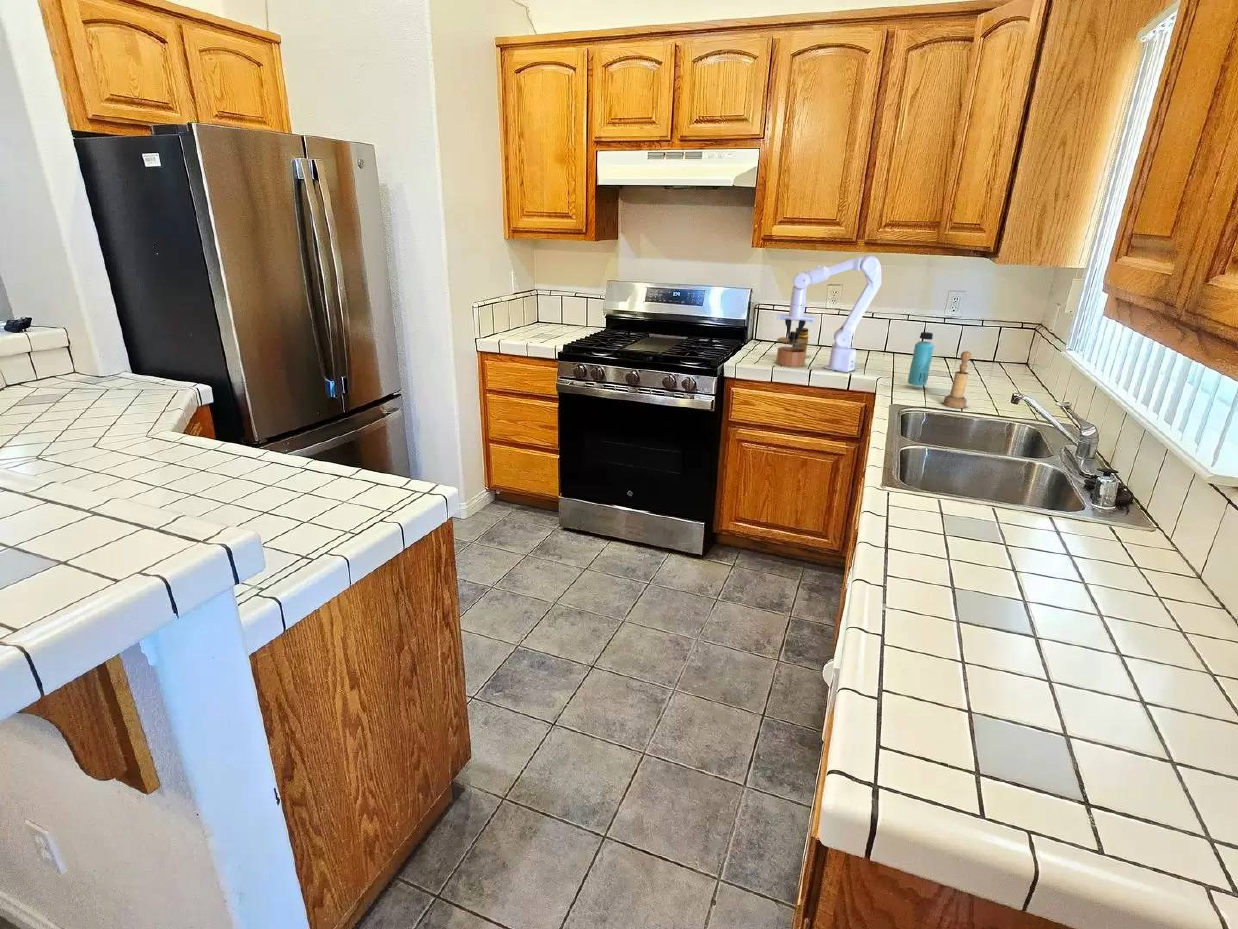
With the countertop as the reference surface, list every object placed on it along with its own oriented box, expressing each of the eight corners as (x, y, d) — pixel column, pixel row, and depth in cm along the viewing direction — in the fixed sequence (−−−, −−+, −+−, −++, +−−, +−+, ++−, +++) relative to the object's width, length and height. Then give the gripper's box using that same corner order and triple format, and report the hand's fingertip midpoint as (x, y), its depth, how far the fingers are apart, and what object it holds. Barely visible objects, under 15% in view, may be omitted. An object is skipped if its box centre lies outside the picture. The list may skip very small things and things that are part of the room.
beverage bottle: (916, 390, 232) (928, 334, 225) (902, 385, 237) (913, 331, 230) (929, 389, 234) (941, 333, 227) (915, 384, 240) (926, 330, 233)
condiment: (809, 356, 281) (813, 328, 276) (798, 359, 275) (803, 330, 271) (794, 353, 286) (798, 326, 281) (784, 355, 280) (787, 328, 276)
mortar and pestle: (944, 406, 213) (956, 352, 207) (942, 401, 219) (954, 348, 212) (966, 409, 211) (979, 354, 204) (964, 404, 217) (977, 350, 210)
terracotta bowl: (809, 364, 266) (811, 350, 264) (795, 368, 258) (797, 353, 256) (785, 359, 273) (787, 345, 271) (770, 363, 266) (772, 348, 263)
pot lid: (813, 343, 262) (815, 332, 260) (798, 347, 253) (799, 335, 252) (787, 338, 269) (788, 328, 268) (771, 342, 261) (772, 330, 260)
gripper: (816, 304, 258) (811, 338, 263) (779, 301, 261) (774, 335, 266) (816, 306, 251) (811, 341, 256) (778, 304, 255) (774, 338, 260)
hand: (793, 338), depth 261 cm, fingers closed on pot lid, 2 cm apart
